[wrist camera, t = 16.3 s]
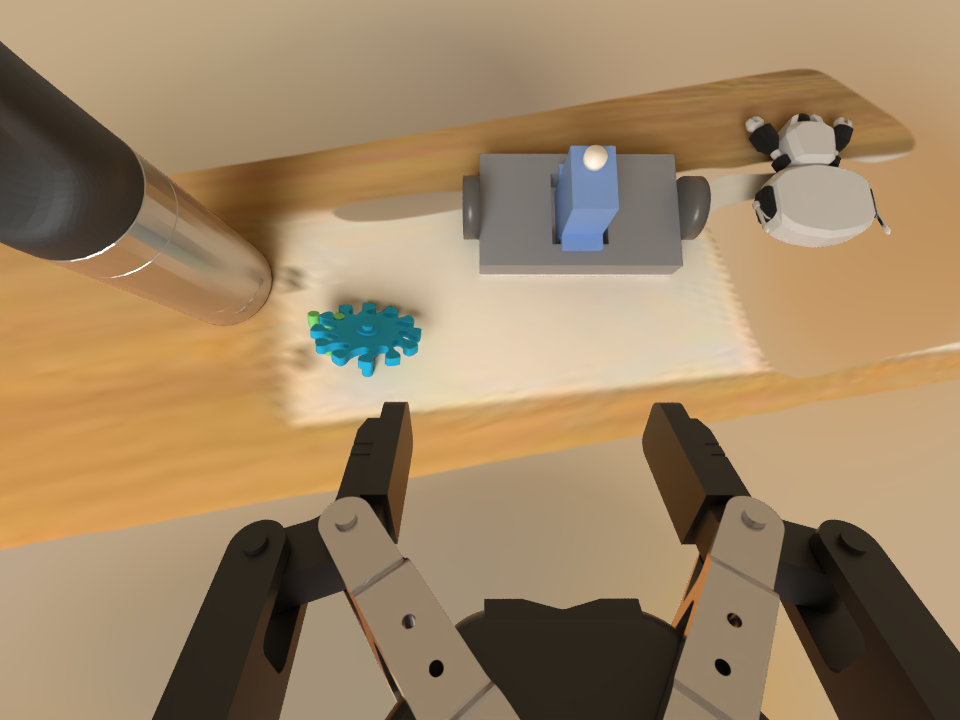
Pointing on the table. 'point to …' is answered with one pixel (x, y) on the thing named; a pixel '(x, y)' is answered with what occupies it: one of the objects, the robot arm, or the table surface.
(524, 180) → the chassis
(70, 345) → the table surface
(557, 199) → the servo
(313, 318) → the gear
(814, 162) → the robot toy
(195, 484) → the table surface
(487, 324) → the table surface
